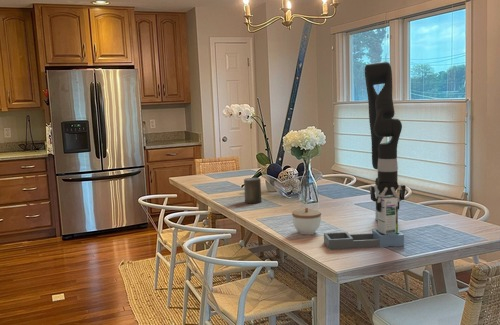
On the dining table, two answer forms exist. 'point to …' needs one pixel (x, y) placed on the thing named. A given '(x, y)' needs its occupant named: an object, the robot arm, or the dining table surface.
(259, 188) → the pillar candle
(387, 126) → the robot arm
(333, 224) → the dining table surface
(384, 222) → the syrup box
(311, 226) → the lidded bowl
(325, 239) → the frame
